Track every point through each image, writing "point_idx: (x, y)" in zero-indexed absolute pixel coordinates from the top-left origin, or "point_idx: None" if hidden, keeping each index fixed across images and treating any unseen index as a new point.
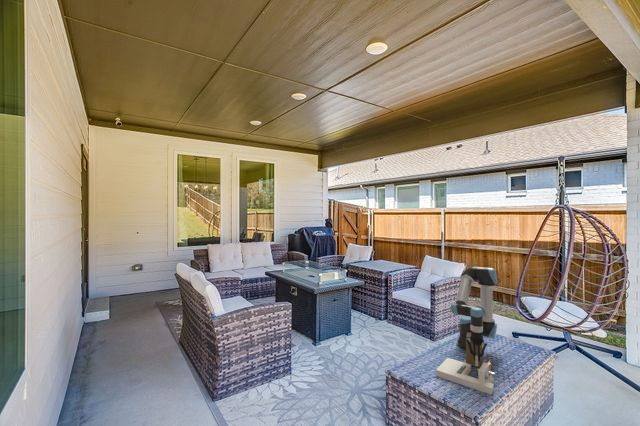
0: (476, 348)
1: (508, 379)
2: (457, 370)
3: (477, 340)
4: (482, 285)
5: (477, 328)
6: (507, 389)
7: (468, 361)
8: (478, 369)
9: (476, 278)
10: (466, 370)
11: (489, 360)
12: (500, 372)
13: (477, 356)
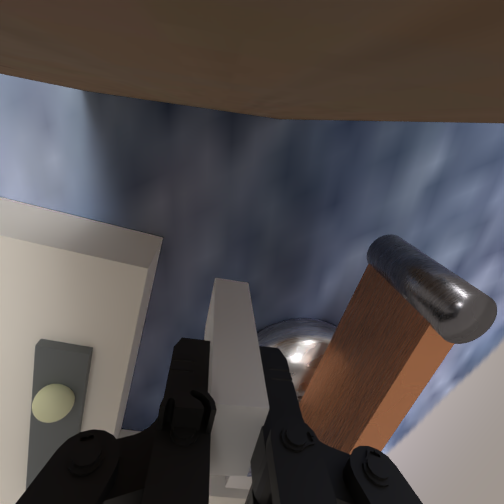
0: (240, 88)
1: (497, 272)
2: (19, 456)
3: None
4: None
5: None
6: (421, 411)
7: (95, 91)
8: (238, 482)
9: None
10: (111, 423)
11: (456, 320)
12: (482, 151)
13: (242, 458)
